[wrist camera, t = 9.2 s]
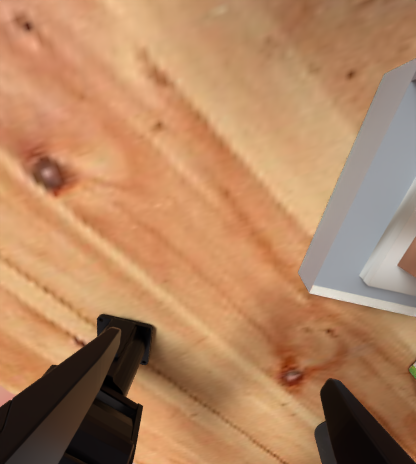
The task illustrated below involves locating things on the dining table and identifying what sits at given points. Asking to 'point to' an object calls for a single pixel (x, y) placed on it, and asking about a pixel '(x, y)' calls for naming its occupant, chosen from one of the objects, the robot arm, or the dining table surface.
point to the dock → (367, 199)
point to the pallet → (396, 251)
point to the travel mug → (324, 444)
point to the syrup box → (413, 370)
